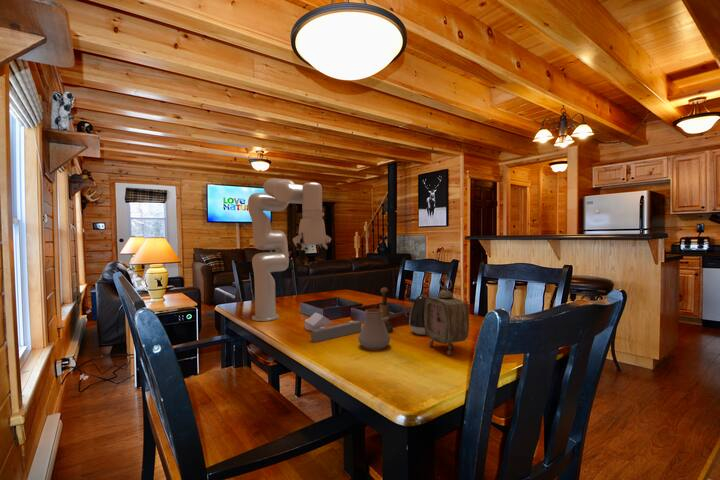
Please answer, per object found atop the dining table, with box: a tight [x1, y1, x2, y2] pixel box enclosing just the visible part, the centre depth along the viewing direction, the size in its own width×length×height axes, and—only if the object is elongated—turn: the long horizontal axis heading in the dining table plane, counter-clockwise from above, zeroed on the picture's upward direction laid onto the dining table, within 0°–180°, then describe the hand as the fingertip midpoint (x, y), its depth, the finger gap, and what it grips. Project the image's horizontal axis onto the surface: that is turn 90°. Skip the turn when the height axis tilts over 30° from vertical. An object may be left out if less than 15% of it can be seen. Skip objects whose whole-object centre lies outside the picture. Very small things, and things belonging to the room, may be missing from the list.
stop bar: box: [310, 320, 362, 344], centre depth 137 cm, size 3×22×5 cm, turn 129°
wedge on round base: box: [304, 311, 334, 331], centre depth 148 cm, size 9×7×13 cm
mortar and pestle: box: [379, 286, 394, 334], centre depth 144 cm, size 7×6×18 cm
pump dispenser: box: [408, 294, 428, 336], centre depth 140 cm, size 10×10×15 cm
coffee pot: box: [357, 308, 411, 351], centre depth 120 cm, size 21×12×15 cm, turn 44°
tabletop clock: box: [424, 276, 470, 356], centre depth 119 cm, size 14×9×25 cm, turn 22°
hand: (313, 260), depth 134 cm, fingers open, 9 cm apart
